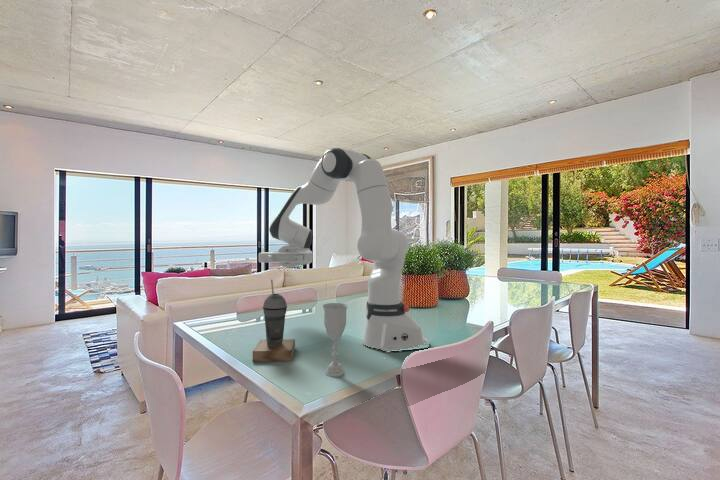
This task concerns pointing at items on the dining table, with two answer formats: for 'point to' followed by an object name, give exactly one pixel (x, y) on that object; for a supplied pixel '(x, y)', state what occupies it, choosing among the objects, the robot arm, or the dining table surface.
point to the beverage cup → (274, 318)
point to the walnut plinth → (274, 351)
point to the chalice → (335, 332)
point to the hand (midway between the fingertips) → (283, 258)
